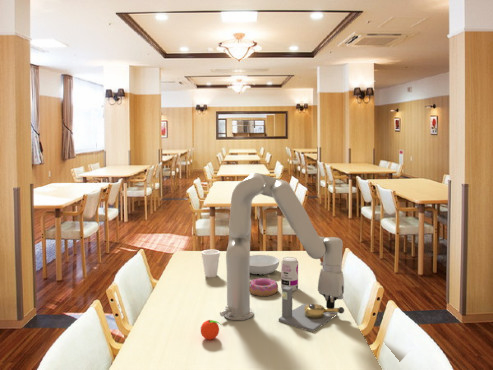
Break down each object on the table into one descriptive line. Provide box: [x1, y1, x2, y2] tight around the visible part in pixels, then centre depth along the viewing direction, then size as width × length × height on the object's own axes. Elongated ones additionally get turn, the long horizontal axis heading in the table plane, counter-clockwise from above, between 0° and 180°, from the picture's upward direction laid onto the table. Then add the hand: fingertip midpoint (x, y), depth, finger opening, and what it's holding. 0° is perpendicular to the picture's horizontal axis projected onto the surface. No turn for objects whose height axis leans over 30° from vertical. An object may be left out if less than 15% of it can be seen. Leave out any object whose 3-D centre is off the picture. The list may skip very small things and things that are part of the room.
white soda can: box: [280, 256, 299, 292], centre depth 218 cm, size 8×8×15 cm
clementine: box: [200, 319, 222, 341], centre depth 166 cm, size 8×7×7 cm
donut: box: [250, 277, 279, 297], centre depth 215 cm, size 14×14×5 cm
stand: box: [278, 286, 338, 332], centre depth 183 cm, size 20×17×13 cm
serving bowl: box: [250, 254, 280, 276], centre depth 244 cm, size 21×21×7 cm
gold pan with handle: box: [304, 303, 345, 319], centre depth 184 cm, size 16×8×4 cm, turn 89°
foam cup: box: [201, 249, 221, 278], centre depth 238 cm, size 10×9×13 cm
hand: (330, 309), depth 187 cm, fingers closed
